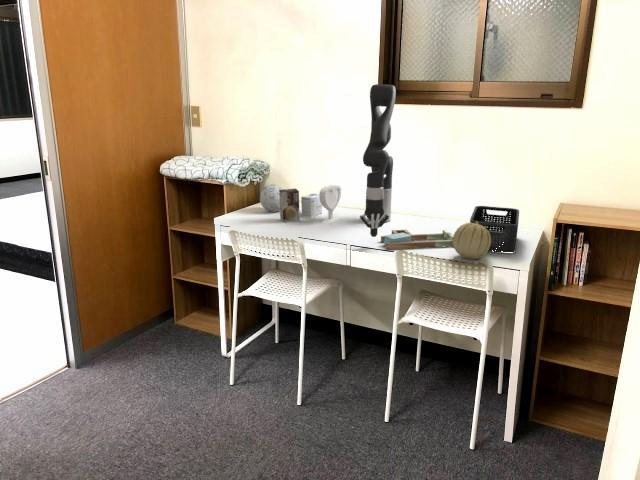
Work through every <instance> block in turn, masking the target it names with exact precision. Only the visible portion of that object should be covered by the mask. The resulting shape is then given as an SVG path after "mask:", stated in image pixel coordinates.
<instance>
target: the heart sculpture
mask: <svg viewBox="0 0 640 480" xmlns="http://www.w3.org/2000/svg"><path fill="white" fill-rule="evenodd" d="M319 194H320V195H319V197H320V202H321V205H322V208H324V209H326V210H327V211H328V212H327V213H328V214H327V215H328V216H327V219H324V220H322V221H321V223H322V224H331V223H333V222H335V221H338V220H340V219H341V218H340V217H338V216H337V217H335V216H334V215H333V214H334V211H335V209H336V207H337V206H338V205H339V202H340V200H341V197H342V187H341V186H340V185H336V184H329V185H328V186H324V187H322V188H321V189H320V190H319Z"/></svg>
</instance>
